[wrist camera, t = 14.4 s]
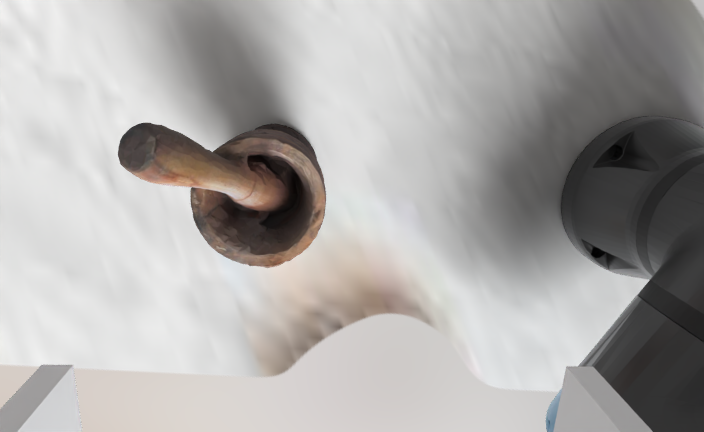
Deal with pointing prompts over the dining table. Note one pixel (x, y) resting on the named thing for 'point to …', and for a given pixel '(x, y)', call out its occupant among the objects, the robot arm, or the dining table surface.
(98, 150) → the dining table surface
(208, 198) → the mortar and pestle
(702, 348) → the robot arm
